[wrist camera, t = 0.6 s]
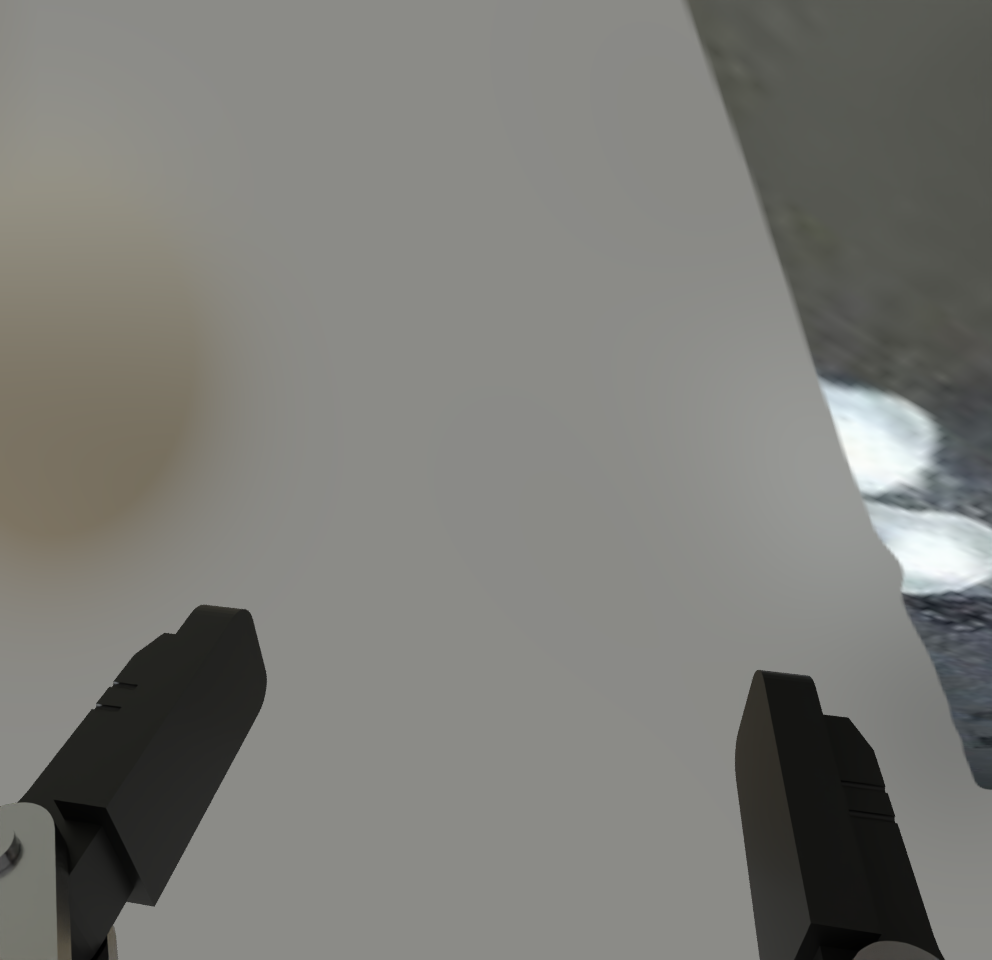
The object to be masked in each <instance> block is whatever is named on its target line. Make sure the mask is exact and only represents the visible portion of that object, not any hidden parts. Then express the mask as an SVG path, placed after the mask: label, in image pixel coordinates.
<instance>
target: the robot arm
mask: <svg viewBox="0 0 992 960" xmlns="http://www.w3.org/2000/svg"><path fill="white" fill-rule="evenodd" d="M266 677H267V676H266V670H265V666H264V662H263V658H262V654H261V650H260V646H259V642H258V638H257V634H256V631H255V626H254V623H253V619H252V616H251V614H250V612H249V611H247V610H246V609H237V608H228V607H219V606H210V605H200V606H198V607H197V608H195V609H194V610H193V612H192V613H191V614H190V616H189V617H188V618H187V619H186V621H185V623H184V624H183V625H182V626H181V628H180V629H179V630H178V632H177V633H176V634H169V633H164V634H162V635H161V636H159V637H158V638H157V639H155V640H154V641H153V642H151V643H150V644H149V645H147V646H146V647H144V648H143V649H142V650H140V651H139V652H137V653H136V654H135V655H134V656H133V657H132V658H131V660H130V661H129V662H128V664H127V665H126V666H125V668H124V669H123V670H122V671H121V673H120V674H119V675H118V676H117V678H116V679H115V680H114V684H113V686H112V687H109V688H108V689H107V690H106V692H105V693H104V695H103V696H102V697H101V698H100V699H99V701H98V702H97V703H96V708H95V709H92V710H91V711H90V712H89V713H88V715H87V716H86V718H85V719H84V720H83V721H82V723H81V724H80V725H79V726H78V728H77V729H76V730H75V731H74V733H73V734H72V735H71V737H70V738H69V739H68V740H67V742H66V743H65V744H64V746H63V747H62V748H61V749H60V751H59V752H58V753H57V754H56V756H55V757H54V758H53V760H52V761H51V762H50V763H49V765H48V766H47V767H46V768H45V770H44V771H43V772H42V774H41V775H40V776H39V778H38V779H37V780H36V781H35V783H34V784H33V785H32V787H31V788H30V789H29V790H28V791H27V793H26V794H25V795H24V796H23V797H22V798H21V799H20V800H19V801H18V802H17V803H12V804H7V805H3V806H0V960H118V954H117V942H116V933H115V928H114V926H113V924H114V922H115V920H116V919H117V917H118V915H119V913H120V911H121V910H122V908H123V906H124V905H125V903H126V902H132V903H137V904H143V905H149V906H155V905H156V903H157V901H158V899H159V897H160V895H161V894H162V892H163V890H164V888H165V886H166V884H167V882H168V881H169V879H170V876H171V875H172V873H173V871H174V870H175V868H176V866H177V864H178V862H179V860H180V858H181V857H182V855H183V853H184V851H185V849H186V847H187V845H188V843H189V842H190V840H191V838H192V836H193V834H194V832H195V830H196V829H197V827H198V825H199V823H200V821H201V819H202V818H203V816H204V814H205V812H206V810H207V808H208V806H209V805H210V803H211V801H212V799H213V797H214V795H215V793H216V792H217V790H218V788H219V786H220V784H221V782H222V780H223V778H224V777H225V775H226V773H227V771H228V769H229V767H230V765H231V763H232V762H233V760H234V758H235V756H236V754H237V752H238V751H239V749H240V747H241V745H242V743H243V741H244V739H245V738H246V736H247V734H248V732H249V730H250V728H251V726H252V725H253V723H254V721H255V719H256V717H257V715H258V713H259V711H260V709H261V707H262V704H263V701H264V697H265V692H266V685H267V678H266ZM735 772H736V782H737V789H738V797H739V805H740V812H741V819H742V827H743V835H744V843H745V850H746V858H747V866H748V872H749V880H750V888H751V895H752V903H753V911H754V919H755V926H756V934H757V941H758V949H759V956H760V960H945V959H944V958H943V956H942V954H941V952H940V950H939V948H938V945H937V943H936V940H935V938H934V935H933V932H932V929H931V926H930V922H929V920H928V916H927V913H926V910H925V907H924V904H923V901H922V898H921V895H920V892H919V889H918V886H917V883H916V879H915V876H914V873H913V870H912V867H911V864H910V861H909V858H908V855H907V851H906V848H905V845H904V842H903V839H902V836H901V833H900V830H899V827H898V824H897V823H895V821H894V817H895V814H894V811H893V808H892V805H891V802H890V799H889V796H888V793H885V784H884V780H883V777H882V774H881V772H880V768H879V765H878V762H877V759H876V756H875V753H874V750H873V749H872V747H871V746H870V745H869V744H868V743H867V741H866V740H865V738H864V737H863V736H862V735H861V733H860V732H859V731H858V729H857V728H856V727H855V726H854V724H853V723H852V722H851V720H850V719H849V718H847V717H838V716H830V715H823V713H822V709H821V705H820V702H819V698H818V694H817V691H816V687H815V684H814V681H813V679H812V678H811V677H810V676H806V675H798V674H789V673H779V672H771V671H763V670H757V671H756V672H755V674H754V676H753V680H752V683H751V687H750V690H749V694H748V698H747V701H746V705H745V709H744V713H743V716H742V720H741V724H740V727H739V731H738V736H737V741H736V750H735Z"/></svg>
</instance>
